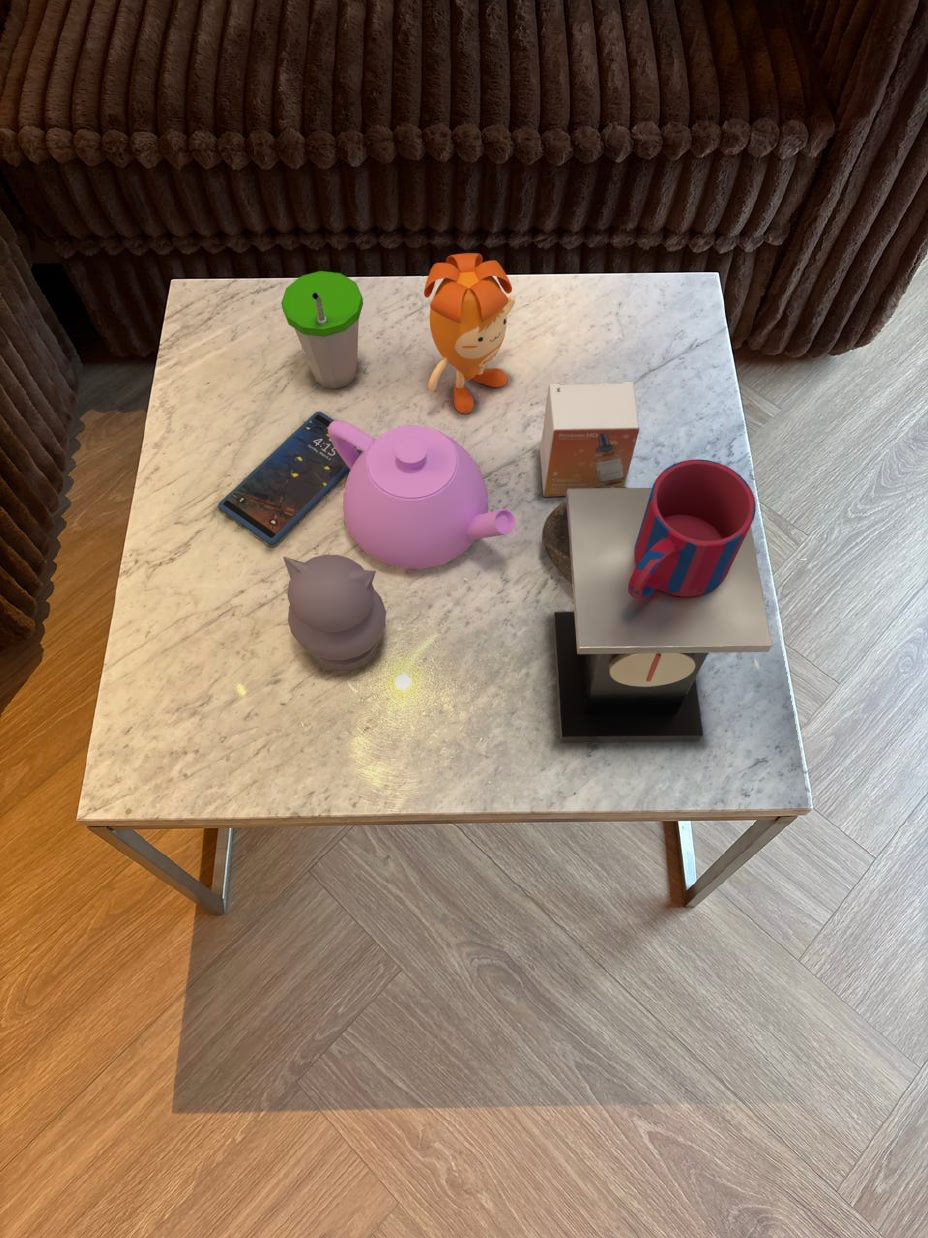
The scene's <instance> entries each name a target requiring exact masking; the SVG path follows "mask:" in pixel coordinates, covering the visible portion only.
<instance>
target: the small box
mask: <svg viewBox="0 0 928 1238" xmlns="http://www.w3.org/2000/svg"><path fill="white" fill-rule="evenodd" d="M639 433H640V420H639V412H638V405H637V396H636V389H635V383H634V381H624V382H605V383H603V382H600V383H599V382H598V383H597V382H596V383H592V382H591V383H558V382H557V383H554V382H553V383H552V382H550V383H549V384H548V386H547V395H546V402H545V409H544V419H543V428H542V435H541V443H540V448H539V456H540V469H541V470H540V472H541V481H542V482H541V483H542V496H543V497H546V498H548V497H550V498H551V497H566V494H567V489H585V488H593V487H598V486H607V485H616V486H623V487H626V483H627V479H628V475H629V471H630V466H631V464H632V460H633V456H634V452H635V448H636V444H637V441H638V437H639Z"/></svg>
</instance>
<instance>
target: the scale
mask: <svg viewBox="0 0 928 1238" xmlns="http://www.w3.org/2000/svg"><path fill="white" fill-rule="evenodd" d="M651 490H652V487H627V488H585V489H567V494H566V496H565V500H566V502H567V516H568V530H569V544H570V558H571V572H572V584H571V585H572V597H573V598H572V599H573V611H554V612H553V616H552V617H553V618H552V624H553V625H552V626H553V640H554V641H553V642H554V658H555V674H556V675H555V676H556V677H555V678H556V691H557V692H556V693H557V695H556V696H557V706H558V707H557V711H558V726H559V727H558V728H559V742H560V743H561V744H566V743H567V744H570V743H573V744H574V743H578V744H579V743H580V744H581V743H663V742H665V743H666V742H667V743H668V742H669V743H670V742H677V743H679V742H700V741H701V739H702V738H703V737H704V731H703V725H702V717H701V716H702V715H701V709H700V702H699V701H700V700H699V695H698V694H699V693H698V687H697V676H698V674H699V672H700V671H701V669H702V666H703V665H704V663H705V661H706V659H707V657H708V655H709V654H711V653H712V654H717V653H720V654H721V653H726V654H727V653H728V654H729V653H769V652H770V650H771V649H772V647H773V644H772V638H771V631H770V626H769V621H768V615H767V610H766V609H767V608H766V603H765V598H764V597H765V596H764V591H763V586H762V581H761V580H762V579H761V575H760V569H759V563H758V559H757V554H756V547H755V541H754V535H753V530H752V525H751V526H750V528H749V530H748V532H747V535H746V537H745V539H744V541H743V543H742V545H741V547H740V549H739V551H738V553H737V555H736V557H735V559H734V561H733V563H732V566H731V568H730V570H729V572H728V574H727V576H726V578H725V579H724V580H723V582H722V583H721V584H720V585H719V586H718V587H717V588H715V589H714V590H712V591H710V592H708V593H706V594H703V595H699V596H693V597H682V596H675V595H672V594H668V593H666V592H663V591H661V590H659V589H656V590H655V591H654V592H653V593H651V594H650V595H649V596H648V597H646V598H644V599H642V600H637V599H635V598H633V597H632V596H631V595H630V594H629V592H628V584H629V581H630V578H631V576H632V574H633V572H634V570H635V568H636V566H637V563H636V559H635V545H636V541H637V537H638V534H639V531H640V527H641V524H642V520H643V517H644V514H645V510H646V507H647V503H648V500H649V497H650V493H651Z"/></svg>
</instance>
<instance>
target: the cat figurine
mask: <svg viewBox="0 0 928 1238" xmlns="http://www.w3.org/2000/svg"><path fill="white" fill-rule="evenodd" d="M282 558H283V561H284V565H285V567H286V571H287V573H288V575H289V578H290V579H289V581H288V586H287V599H288V603H289V606H288V615H287V622H288V625H289V629H290V632H291V635H292V636H293V638H294V639H295V641H296V642H297V643H298V644H299V646H300V647H301V649H304V650H305V651H306V652H308V653H310V654H312V655H313V657H314V658H315V660H316V661H317V662H318V663H319V664H320V665H322V666H323V667H325V668H327V669H329V670H333V671H336V672H349V671H353V670H356V669H359V668H361V667H363V666H364V665H366V664H368V663H369V662H370V660H372V658H374V656H375V655H376V653H377V651H378V648H379V645H380V640H381V637H382V635H383V633H384V631H385V628H386V623H387V622H386V621H387V620H386V619H387V610H386V607H385V604H384V601H383V599H382V597H381V595H380V594H379V593H378V591H377V590H376V589H375V587H374V585H373V581H374V579H375V576H376V573H377V570H369V569H365V568H364V567H363V566H362V565H361V564H360V563H358V562H357V561H355V560H353V559H351V558H349V557H346V556H344V555H343V556H342V555H339V554H323V555H322V554H321V555H318V556H314V557H311V558H309V559H308V560H306V561H300V560H296V559H293V558H289V557H286V556H282Z"/></svg>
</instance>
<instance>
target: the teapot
mask: <svg viewBox="0 0 928 1238" xmlns="http://www.w3.org/2000/svg"><path fill="white" fill-rule="evenodd" d="M328 434H329V437H330V440H331V442H332V444H333V446H334V447H335V449H336V450H337V452H338V453H339V455H340V456H341V458H342V459H343V460H344V462H345V463H346V464H347V466H348V467H349V468H350V470H351V471H350V472H349V473H348V474H347V478H346V482H345V484H344V491H343V496H342V509H343V510H342V511H343V517H344V522H345V526H346V528H347V531H348V532H349V534H350V536H351V538H352V539H353V541H354V542H355V543H356V544H357V545H358V546H359V547H360V548H361V549H362V550H363V551H364V552H366V553H367V555H369V556H371V557H372V558H374V560H375V559H376V560H377V561H379V562H381V563H384V564H386V565H390V566H393V567H397V568H400V569H409V570H410V569H411V570H413V569H415V570H416V569H427V568H429V569H430V568H433V567H437V566H441V565H444V564H446V563H448V562H450V561H452V560H454V559H456V558H458V557H459V556H461V555H462V554H463V553H464V552H466V551H467V550H468V549H469V548H471V546H472V545H473V543H474V542H475V541H476V540H480V539H487V538H492V537H499V536H504V535H510V534H511V533H512V532H514V530H515V529H516V526H517V519H516V516H515V514H514V513H513V511H511V510H509V509H506V508H501V509H497V510H493V511H489V494H488V488H487V485H486V481H485V479H484V476H483V473H482V471H481V469H480V468H479V466H478V463H477V462H476V461H475V459H474V458H473V457H472V456H471V454H470V453H469V451H467V449H465V448H464V447H463V446H462V445H461V444H460V443H459V442H457V441H456V440H455V439H453V438H452V437H450V436H449V435H447V434H445V433H443V432H442V431H439V430H438V429H435V428H431V427H428V426H425V425H417V424H416V425H415V424H412V425H410V424H409V425H403V426H398V427H395V428H392V429H390V430H388V431H386V432H384V433H382V434H380V435H379V436H378V437H377V438H374V437H373V436H371V435H370V434H368V433H367V432H366V431H364V430H362V429H360V428H359V427H357V426H355V425H353V424H352V423H349V422H347V421H345V420H341V419H336V420H335V419H334V421H333V422H332V423H330V425H329V427H328ZM354 446H355V447H357V448H358V449H360V450H361V451H363V452H362V453H361V455H359V454H358V452H357V451H356V449H355V447H354Z"/></svg>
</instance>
